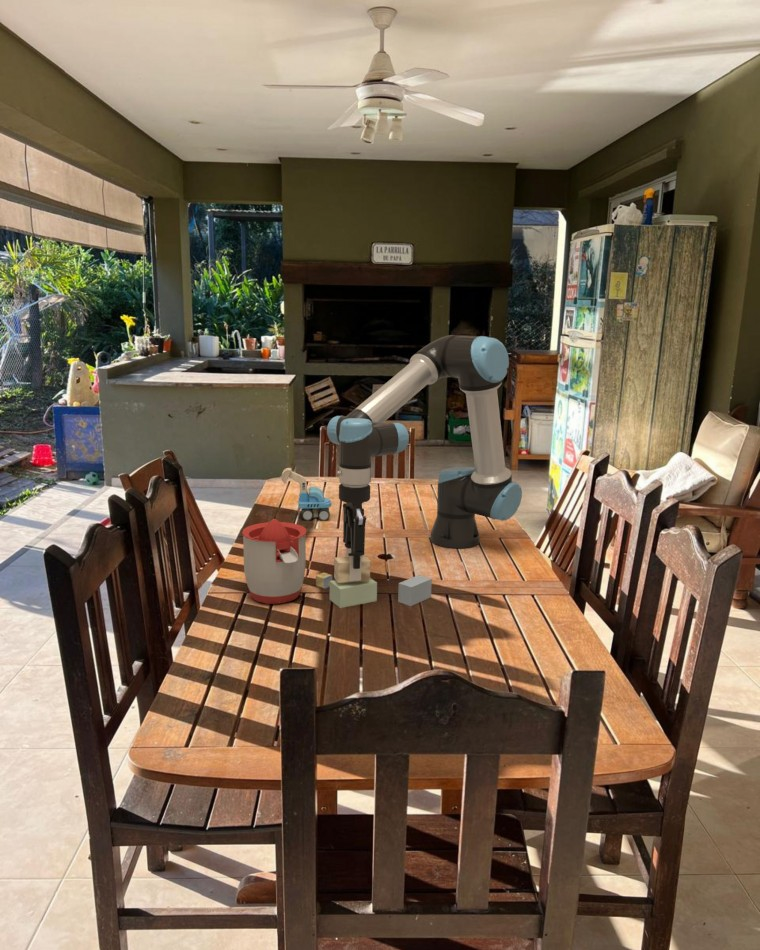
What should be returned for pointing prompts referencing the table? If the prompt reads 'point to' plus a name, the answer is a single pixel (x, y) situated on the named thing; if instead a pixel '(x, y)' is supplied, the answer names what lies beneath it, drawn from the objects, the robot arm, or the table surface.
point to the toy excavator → (309, 498)
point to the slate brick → (414, 590)
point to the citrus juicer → (274, 560)
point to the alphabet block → (323, 580)
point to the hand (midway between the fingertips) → (352, 576)
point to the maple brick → (344, 569)
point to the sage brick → (353, 592)
